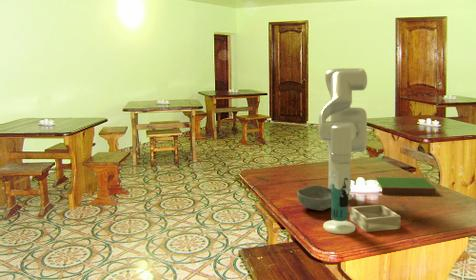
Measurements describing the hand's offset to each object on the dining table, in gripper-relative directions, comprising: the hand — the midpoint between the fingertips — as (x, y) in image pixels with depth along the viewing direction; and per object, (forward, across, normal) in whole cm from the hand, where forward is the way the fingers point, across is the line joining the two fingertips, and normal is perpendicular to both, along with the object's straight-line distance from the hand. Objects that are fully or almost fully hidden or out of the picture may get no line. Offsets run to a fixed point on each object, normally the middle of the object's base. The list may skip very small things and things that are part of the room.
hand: (339, 203), depth 162 cm
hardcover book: (+11, -40, +52) cm, 66 cm away
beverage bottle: (+8, 0, 0) cm, 8 cm away
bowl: (+10, -23, 0) cm, 25 cm away
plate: (+10, 0, 0) cm, 10 cm away
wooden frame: (+10, -1, +15) cm, 18 cm away
